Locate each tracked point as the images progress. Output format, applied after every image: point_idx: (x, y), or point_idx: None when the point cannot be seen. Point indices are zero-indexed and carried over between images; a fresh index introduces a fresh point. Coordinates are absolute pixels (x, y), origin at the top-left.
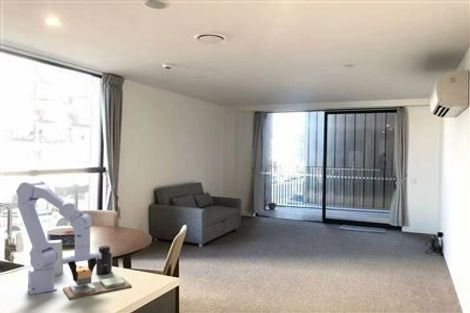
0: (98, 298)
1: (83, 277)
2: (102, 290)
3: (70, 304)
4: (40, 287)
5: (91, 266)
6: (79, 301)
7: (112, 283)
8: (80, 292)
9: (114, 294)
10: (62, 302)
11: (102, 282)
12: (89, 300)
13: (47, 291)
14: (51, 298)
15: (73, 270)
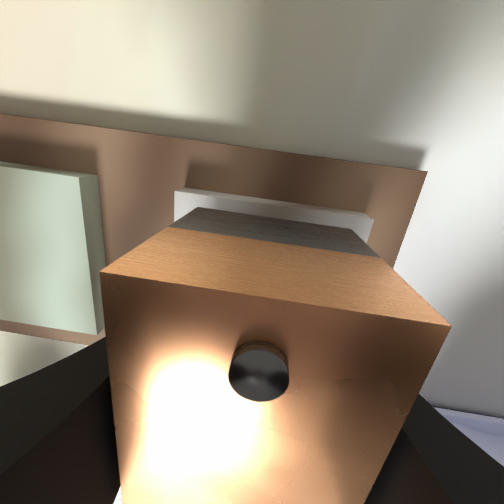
0: (211, 9)
1: (293, 248)
2: (130, 146)
3: (480, 36)
4: (491, 456)
5: (26, 427)
6: (379, 60)
7: (11, 191)
8: (309, 207)
9: (55, 12)
10: (491, 148)
11: (89, 274)
12: (299, 15)
13: (434, 407)
14: (486, 291)
15: (496, 480)
